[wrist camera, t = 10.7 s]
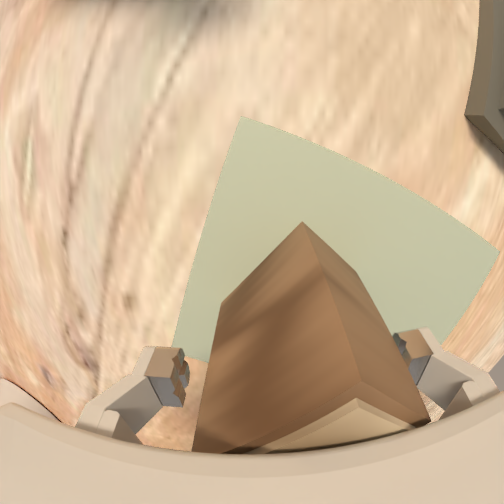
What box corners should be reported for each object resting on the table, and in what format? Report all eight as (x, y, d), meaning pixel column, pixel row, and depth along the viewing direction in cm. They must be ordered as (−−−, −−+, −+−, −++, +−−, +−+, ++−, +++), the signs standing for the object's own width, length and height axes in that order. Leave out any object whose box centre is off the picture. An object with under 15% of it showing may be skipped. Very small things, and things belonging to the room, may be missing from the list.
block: (276, 340, 16) (282, 494, 7) (221, 302, 15) (188, 470, 6) (356, 271, 14) (433, 428, 5) (301, 220, 13) (364, 391, 4)
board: (388, 379, 20) (395, 396, 18) (177, 330, 18) (170, 351, 16) (483, 239, 15) (500, 251, 13) (243, 118, 13) (241, 115, 11)
